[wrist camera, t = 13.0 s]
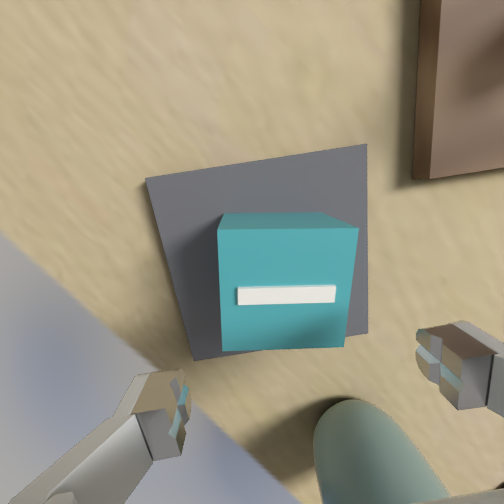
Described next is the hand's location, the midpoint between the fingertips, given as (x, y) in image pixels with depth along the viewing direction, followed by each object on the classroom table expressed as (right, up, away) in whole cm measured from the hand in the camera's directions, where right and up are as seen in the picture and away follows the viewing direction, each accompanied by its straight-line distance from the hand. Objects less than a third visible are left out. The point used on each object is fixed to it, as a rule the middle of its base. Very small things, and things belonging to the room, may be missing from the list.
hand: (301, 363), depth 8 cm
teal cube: (0, +3, +7) cm, 8 cm away
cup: (+7, -11, +13) cm, 19 cm away
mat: (-1, +3, +9) cm, 9 cm away
